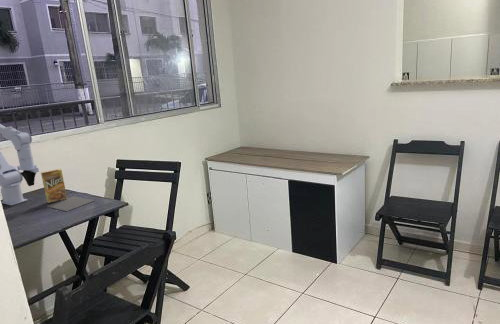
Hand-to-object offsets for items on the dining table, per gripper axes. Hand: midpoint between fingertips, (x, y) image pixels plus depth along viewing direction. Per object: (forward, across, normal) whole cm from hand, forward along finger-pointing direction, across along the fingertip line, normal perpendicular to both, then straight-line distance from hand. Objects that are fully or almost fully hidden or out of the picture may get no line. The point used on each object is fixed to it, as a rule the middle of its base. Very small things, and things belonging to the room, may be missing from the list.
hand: (31, 185), depth 177 cm
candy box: (+10, -6, -8) cm, 14 cm away
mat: (+10, -16, -8) cm, 21 cm away
